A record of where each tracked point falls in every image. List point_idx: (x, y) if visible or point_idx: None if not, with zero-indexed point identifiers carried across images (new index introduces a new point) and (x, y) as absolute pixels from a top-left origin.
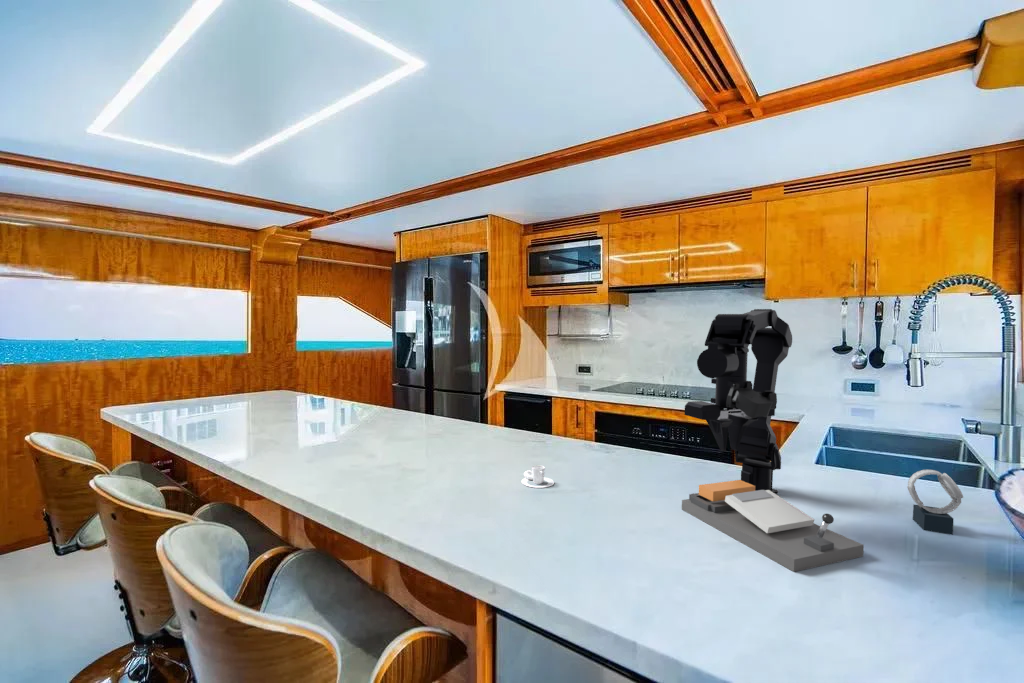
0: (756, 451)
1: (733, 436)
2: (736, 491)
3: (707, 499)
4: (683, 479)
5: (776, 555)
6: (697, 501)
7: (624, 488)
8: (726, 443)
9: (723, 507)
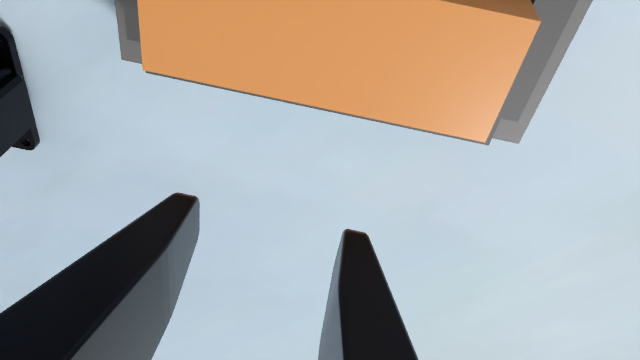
0: None
1: (124, 355)
2: None
3: None
4: (197, 278)
5: None
6: (540, 69)
7: (487, 328)
8: (350, 294)
9: None
